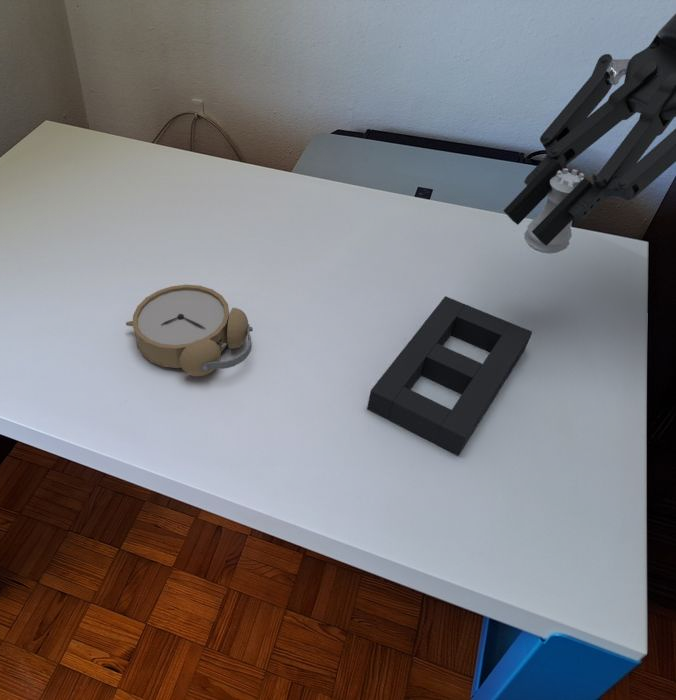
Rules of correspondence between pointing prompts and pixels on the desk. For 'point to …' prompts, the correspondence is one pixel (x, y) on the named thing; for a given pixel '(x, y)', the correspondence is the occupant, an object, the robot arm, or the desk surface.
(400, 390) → the socket pad
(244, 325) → the alarm clock
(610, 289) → the desk surface
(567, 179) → the rook chess piece
